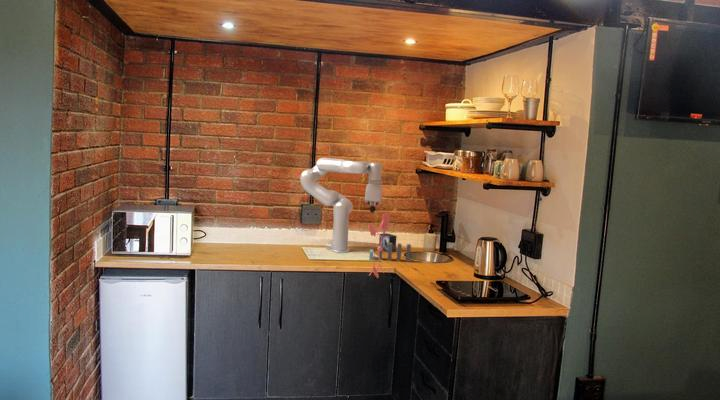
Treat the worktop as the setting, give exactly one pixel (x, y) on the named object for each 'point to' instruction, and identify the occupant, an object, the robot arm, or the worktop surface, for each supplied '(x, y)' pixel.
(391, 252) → the domino
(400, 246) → the domino
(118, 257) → the worktop surface
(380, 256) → the domino
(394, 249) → the small box
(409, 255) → the domino
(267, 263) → the worktop surface
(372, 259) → the domino
